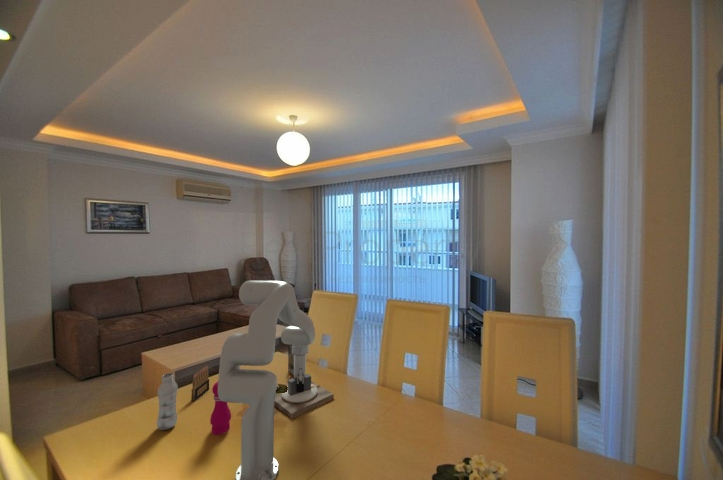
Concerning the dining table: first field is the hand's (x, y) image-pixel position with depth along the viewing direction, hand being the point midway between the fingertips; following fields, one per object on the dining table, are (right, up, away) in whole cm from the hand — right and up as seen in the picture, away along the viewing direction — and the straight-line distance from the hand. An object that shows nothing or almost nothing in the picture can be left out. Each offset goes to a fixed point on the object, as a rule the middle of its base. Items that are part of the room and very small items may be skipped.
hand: (300, 388), depth 136 cm
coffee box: (-7, -5, +27) cm, 28 cm away
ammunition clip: (-47, -4, +2) cm, 47 cm away
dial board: (0, -4, 0) cm, 4 cm away
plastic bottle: (-47, -4, -22) cm, 52 cm away
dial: (0, -2, 0) cm, 2 cm away
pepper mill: (-25, -4, -23) cm, 35 cm away
